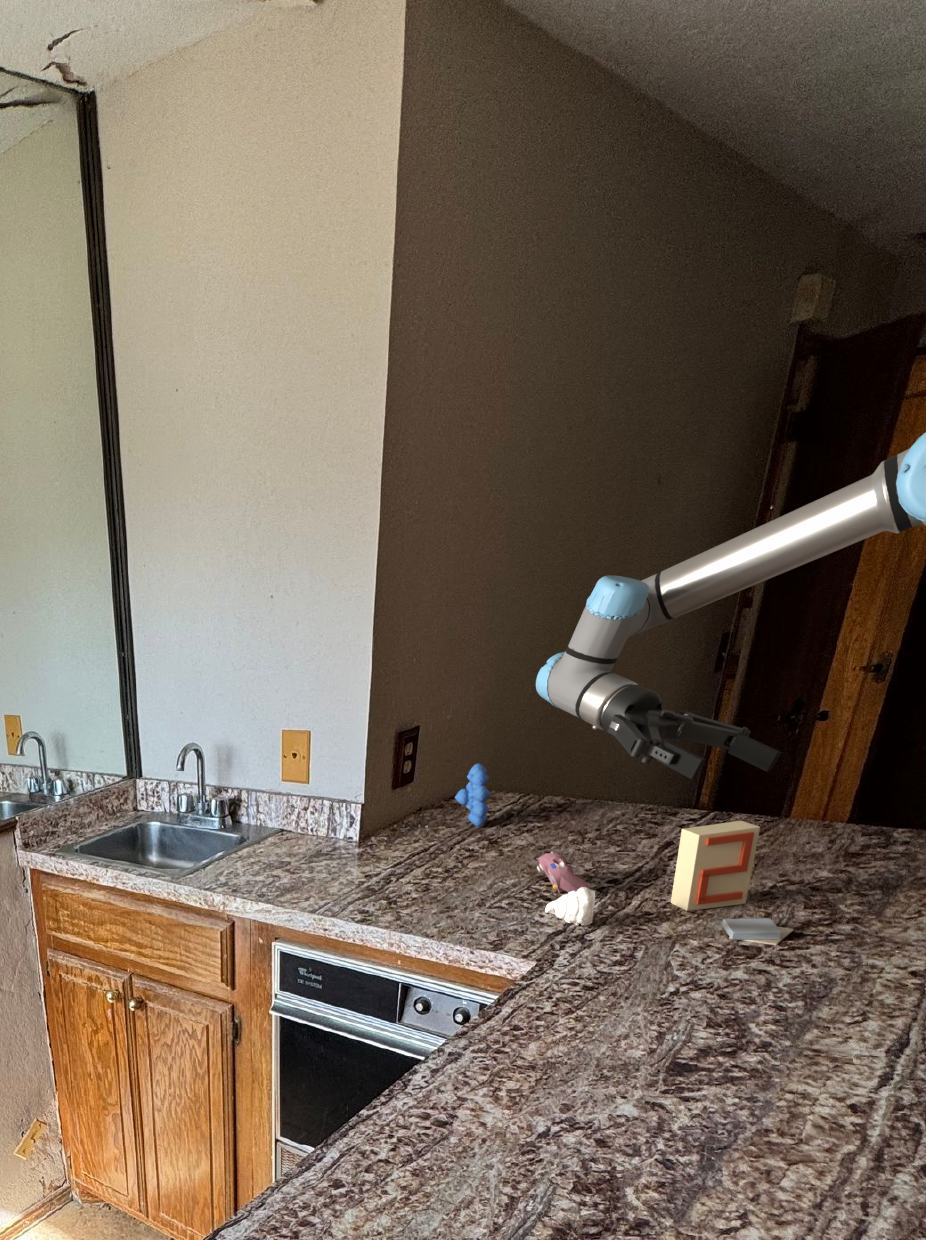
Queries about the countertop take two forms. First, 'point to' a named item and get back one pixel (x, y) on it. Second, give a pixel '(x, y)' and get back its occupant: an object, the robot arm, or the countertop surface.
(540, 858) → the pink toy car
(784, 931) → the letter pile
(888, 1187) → the countertop surface
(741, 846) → the cream digit block
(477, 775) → the grapes
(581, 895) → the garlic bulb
